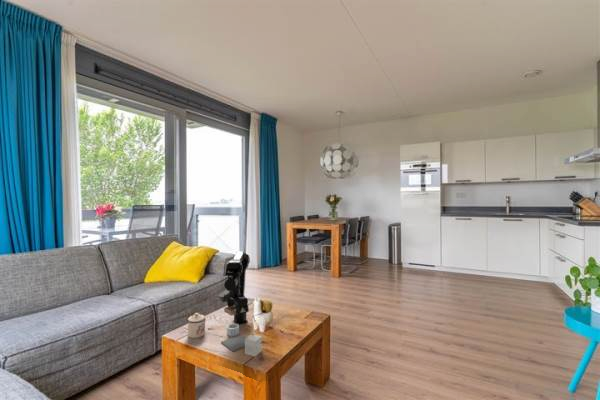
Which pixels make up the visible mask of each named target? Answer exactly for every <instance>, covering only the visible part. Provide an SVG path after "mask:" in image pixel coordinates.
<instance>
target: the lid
mask: <svg viewBox="0 0 600 400" xmlns="http://www.w3.org/2000/svg"><path fill="white" fill-rule="evenodd" d="M223 312H224V313H226V314H228V315H230V316H234V315H235V314H236V306H235V305H233V306H229V307H228V306H226V307H223ZM242 312H244V308H242V310H241V312H240V313H242Z"/></svg>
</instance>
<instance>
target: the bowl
mask: <svg viewBox="0 0 600 400" xmlns="http://www.w3.org/2000/svg"><path fill="white" fill-rule="evenodd" d="M226 335H227V336H229V337H235V336H238V335H240V324H237V323H230V324H228V325H227V326H226Z"/></svg>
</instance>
